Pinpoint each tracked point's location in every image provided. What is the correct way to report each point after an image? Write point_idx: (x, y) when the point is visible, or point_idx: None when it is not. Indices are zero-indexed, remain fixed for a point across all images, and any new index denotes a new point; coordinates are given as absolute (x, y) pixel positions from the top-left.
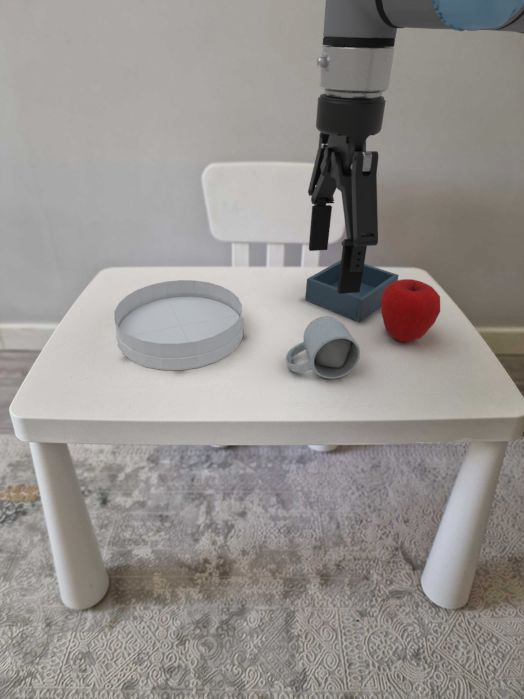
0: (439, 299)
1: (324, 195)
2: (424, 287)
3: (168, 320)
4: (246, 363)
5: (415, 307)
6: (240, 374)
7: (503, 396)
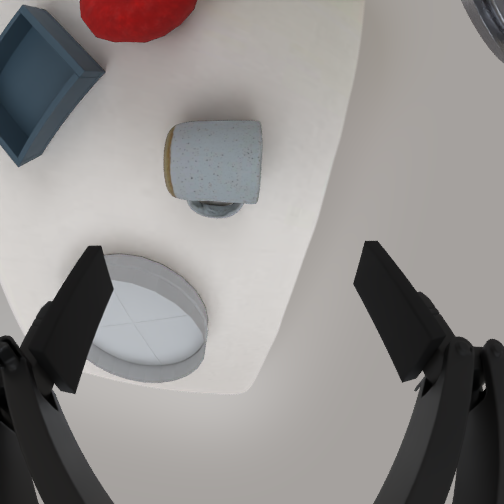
0: None
1: (55, 417)
2: None
3: (123, 332)
4: (200, 258)
5: None
6: (222, 267)
7: None
